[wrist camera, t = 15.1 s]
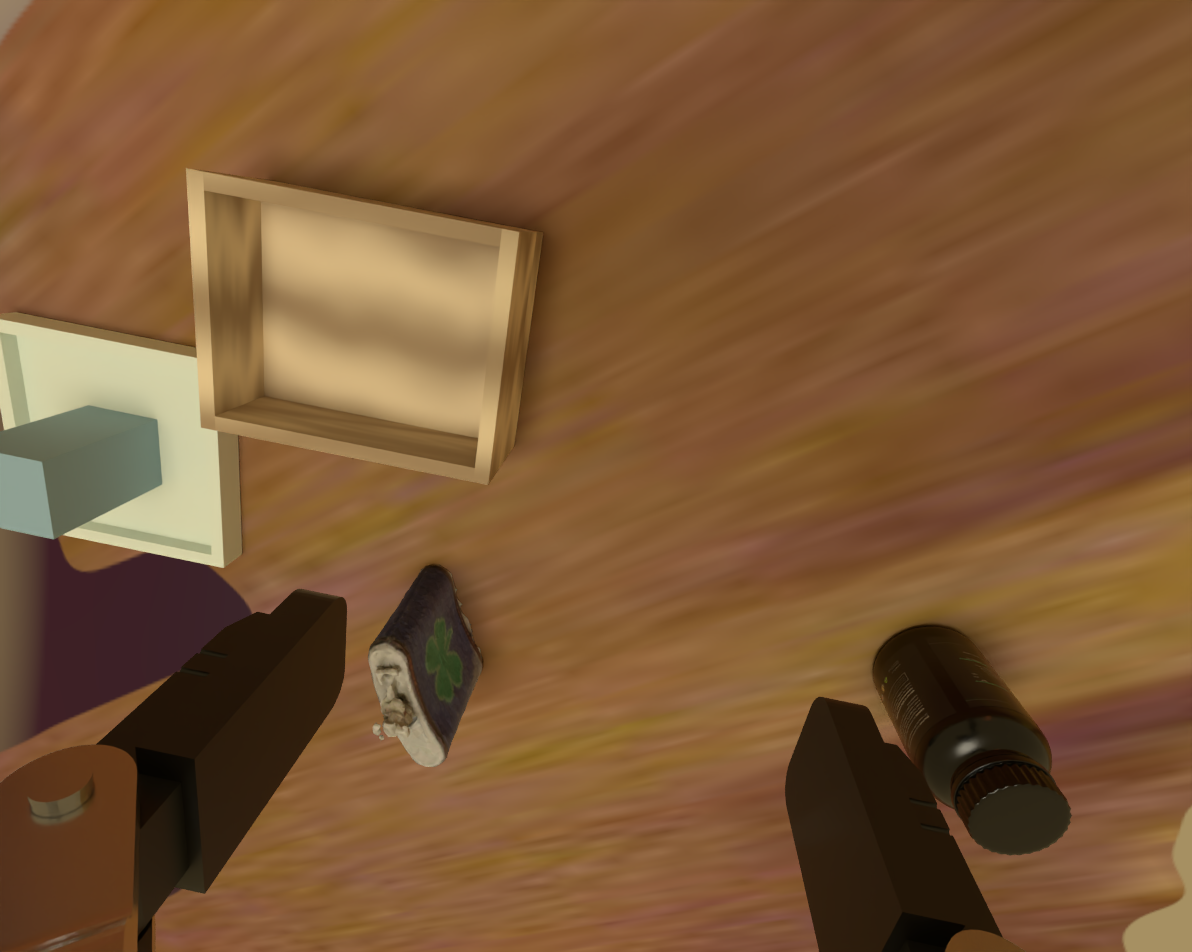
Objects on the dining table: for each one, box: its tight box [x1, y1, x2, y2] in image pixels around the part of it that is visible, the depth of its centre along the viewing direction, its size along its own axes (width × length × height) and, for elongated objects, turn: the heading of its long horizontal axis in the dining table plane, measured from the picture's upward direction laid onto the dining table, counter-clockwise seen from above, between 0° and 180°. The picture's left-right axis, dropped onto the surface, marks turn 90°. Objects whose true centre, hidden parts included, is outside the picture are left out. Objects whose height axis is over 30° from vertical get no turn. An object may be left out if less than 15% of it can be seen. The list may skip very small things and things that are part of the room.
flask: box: [368, 565, 483, 767], centre depth 39 cm, size 9×3×11 cm, turn 14°
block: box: [0, 405, 162, 539], centre depth 37 cm, size 4×4×8 cm
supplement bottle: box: [873, 627, 1072, 855], centre depth 37 cm, size 7×7×12 cm
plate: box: [0, 312, 242, 568], centre depth 41 cm, size 14×14×2 cm
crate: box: [186, 168, 543, 485], centre depth 34 cm, size 13×16×6 cm
